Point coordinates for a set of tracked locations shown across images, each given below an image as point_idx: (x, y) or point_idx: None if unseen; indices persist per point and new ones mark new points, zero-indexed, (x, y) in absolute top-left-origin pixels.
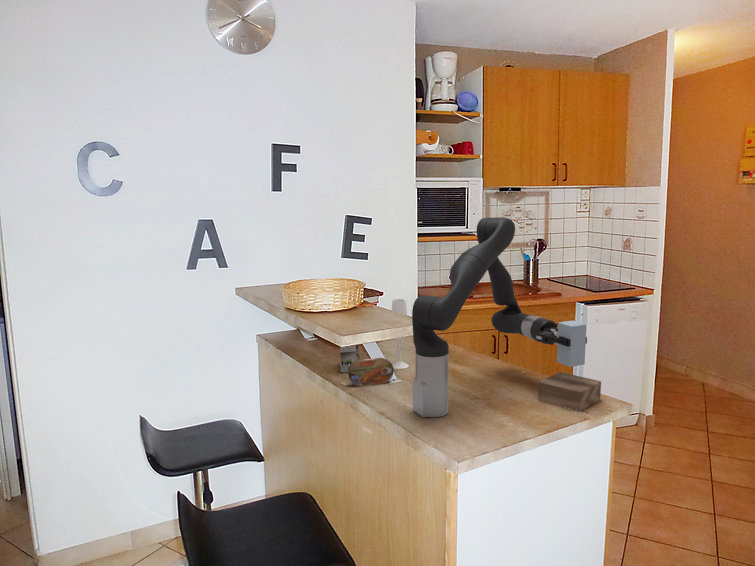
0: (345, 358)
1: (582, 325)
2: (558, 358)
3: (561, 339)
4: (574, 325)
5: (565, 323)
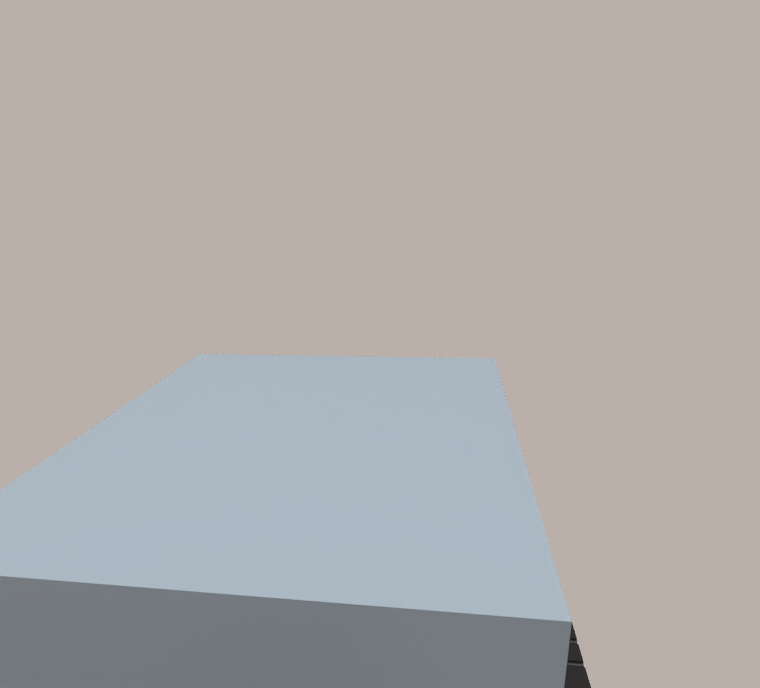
0: None
1: (277, 361)
2: None
3: (583, 682)
4: (400, 369)
5: (428, 469)
